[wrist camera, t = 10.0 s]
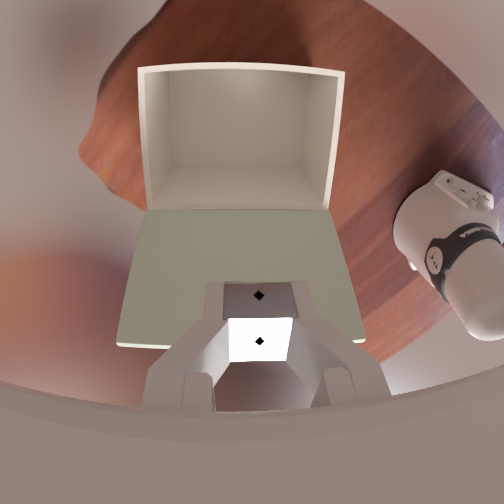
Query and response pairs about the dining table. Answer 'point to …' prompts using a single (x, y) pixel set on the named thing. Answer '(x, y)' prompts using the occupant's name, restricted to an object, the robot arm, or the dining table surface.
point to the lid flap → (230, 267)
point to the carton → (239, 135)
